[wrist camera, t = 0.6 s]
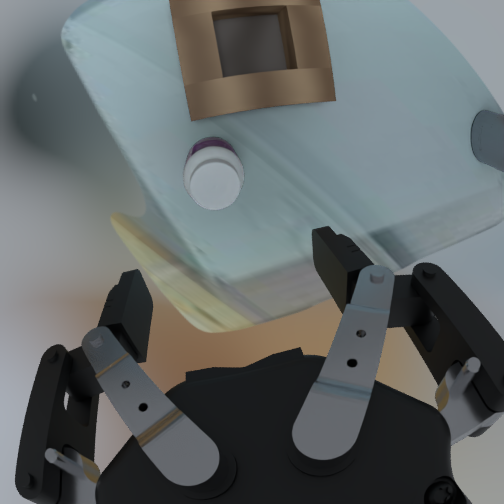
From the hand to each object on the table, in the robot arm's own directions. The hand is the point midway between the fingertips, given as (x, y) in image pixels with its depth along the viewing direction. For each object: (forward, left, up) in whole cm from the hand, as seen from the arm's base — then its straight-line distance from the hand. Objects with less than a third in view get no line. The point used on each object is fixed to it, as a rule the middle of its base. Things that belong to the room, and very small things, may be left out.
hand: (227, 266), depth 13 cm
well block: (-6, -12, -20) cm, 24 cm away
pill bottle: (0, 0, -20) cm, 20 cm away
